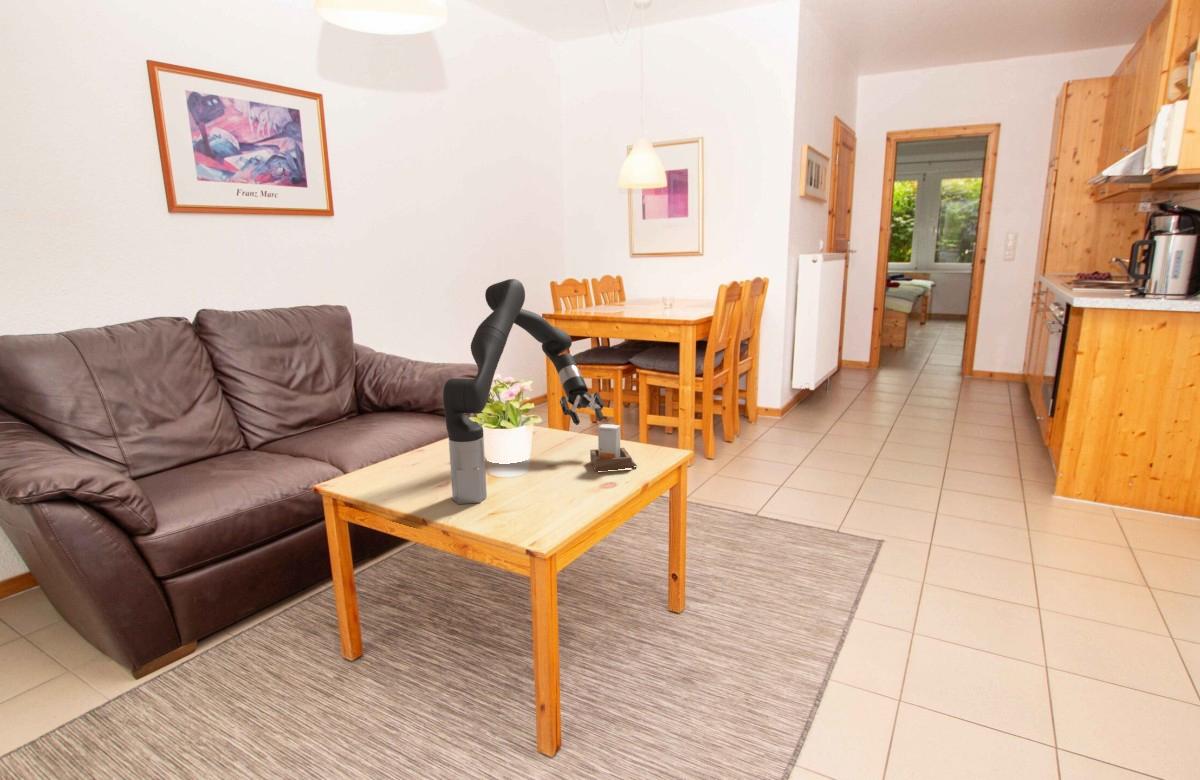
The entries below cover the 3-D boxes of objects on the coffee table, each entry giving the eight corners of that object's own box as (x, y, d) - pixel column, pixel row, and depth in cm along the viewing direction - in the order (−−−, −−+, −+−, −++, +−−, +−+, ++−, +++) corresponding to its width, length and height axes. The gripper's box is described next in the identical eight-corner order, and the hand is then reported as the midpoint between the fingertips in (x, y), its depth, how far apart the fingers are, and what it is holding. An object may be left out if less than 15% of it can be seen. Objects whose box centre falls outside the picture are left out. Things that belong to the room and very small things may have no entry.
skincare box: (598, 464, 197) (597, 426, 194) (602, 459, 201) (602, 423, 198) (616, 465, 195) (616, 428, 192) (620, 461, 199) (620, 425, 196)
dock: (638, 469, 194) (638, 457, 193) (596, 472, 192) (596, 460, 191) (630, 458, 204) (630, 447, 204) (590, 461, 202) (590, 449, 201)
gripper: (557, 377, 206) (573, 418, 199) (594, 373, 213) (612, 412, 206) (550, 390, 212) (566, 431, 204) (587, 386, 219) (604, 425, 211)
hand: (589, 421), depth 205 cm, fingers open, 8 cm apart
